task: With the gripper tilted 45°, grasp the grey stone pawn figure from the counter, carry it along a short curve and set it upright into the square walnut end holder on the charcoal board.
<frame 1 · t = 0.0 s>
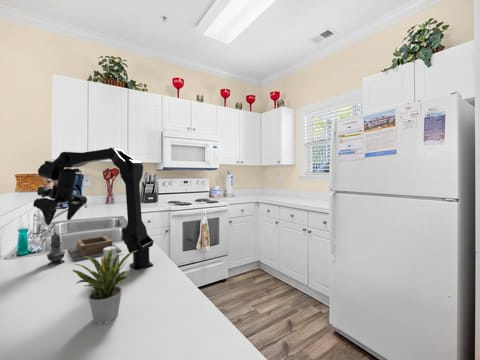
hand: (58, 222, 95), 15 cm above the counter, tool pointing down, fingers open, 9 cm apart
house plant: (110, 314, 60), on the counter
grey stone pawn figure: (56, 263, 94), on the counter
end holder: (94, 251, 107), on the counter
supplement bottle: (110, 276, 82), on the counter
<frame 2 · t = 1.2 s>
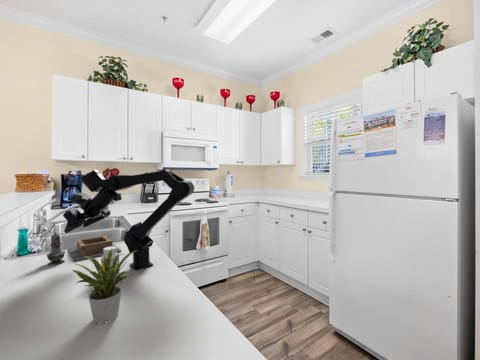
hand: (75, 229, 93), 13 cm above the counter, tool tilted 45°, fingers open, 9 cm apart
nothing on the counter moved.
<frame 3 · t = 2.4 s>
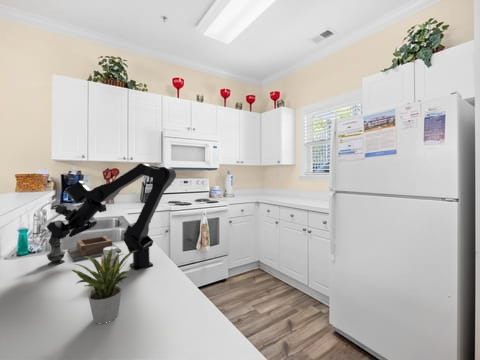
hand: (60, 239, 93), 9 cm above the counter, tool tilted 45°, fingers open, 9 cm apart
nothing on the counter moved.
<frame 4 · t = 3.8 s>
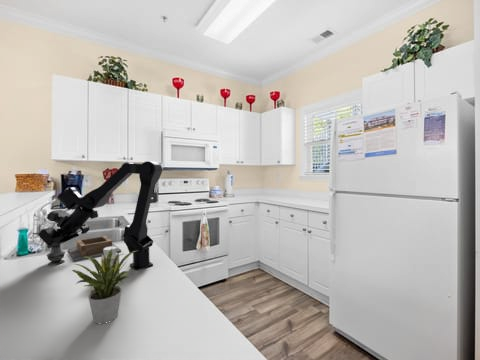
hand: (52, 246, 94), 7 cm above the counter, tool tilted 45°, fingers closed on grey stone pawn figure, 3 cm apart
grey stone pawn figure: (56, 263, 94), on the counter, touching gripper
everything else where it was.
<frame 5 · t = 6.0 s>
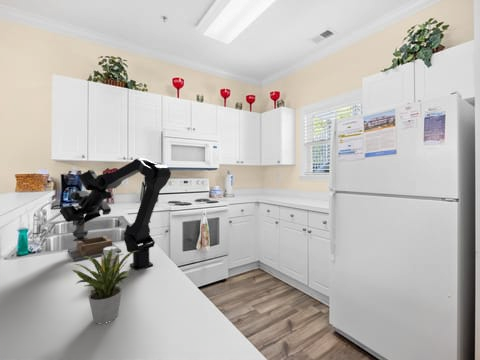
hand: (78, 223, 103), 13 cm above the counter, tool tilted 45°, fingers closed on grey stone pawn figure, 4 cm apart
grey stone pawn figure: (80, 240, 102), point 6 cm above the counter, touching gripper
everything else where it was.
when the fingers open (8 cm above the counter, at t = 7.9 s): grey stone pawn figure stays where it is, resting on end holder.
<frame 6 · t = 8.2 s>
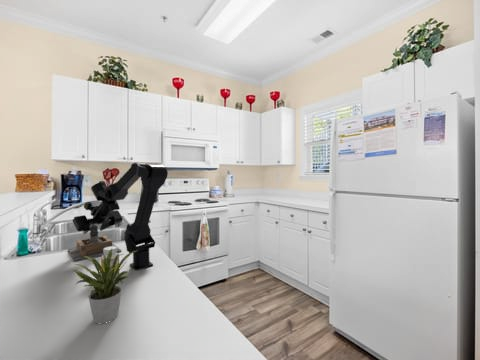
hand: (92, 231, 108), 9 cm above the counter, tool tilted 45°, fingers open, 7 cm apart
grey stone pawn figure: (94, 249, 107), point 1 cm above the counter, touching end holder
everything else where it was.
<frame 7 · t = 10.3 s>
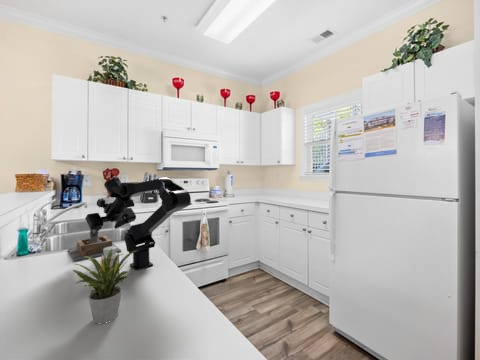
hand: (104, 230, 103), 10 cm above the counter, tool tilted 45°, fingers open, 9 cm apart
nothing on the counter moved.
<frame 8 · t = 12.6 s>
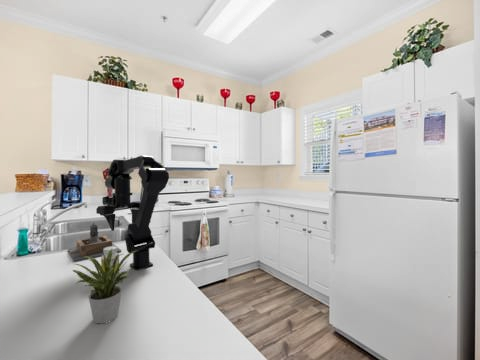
hand: (123, 228, 100), 12 cm above the counter, tool pointing down, fingers open, 9 cm apart
nothing on the counter moved.
at the end: grey stone pawn figure 0.2 cm off-centre on the end holder, point 0.6 cm above the end holder's base; grey stone pawn figure tilted 0°; the gripper is holding nothing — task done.
